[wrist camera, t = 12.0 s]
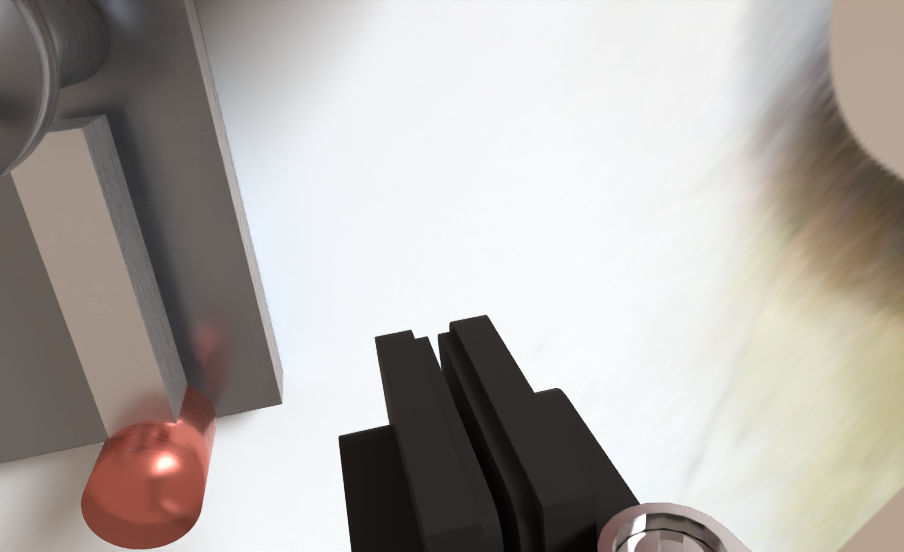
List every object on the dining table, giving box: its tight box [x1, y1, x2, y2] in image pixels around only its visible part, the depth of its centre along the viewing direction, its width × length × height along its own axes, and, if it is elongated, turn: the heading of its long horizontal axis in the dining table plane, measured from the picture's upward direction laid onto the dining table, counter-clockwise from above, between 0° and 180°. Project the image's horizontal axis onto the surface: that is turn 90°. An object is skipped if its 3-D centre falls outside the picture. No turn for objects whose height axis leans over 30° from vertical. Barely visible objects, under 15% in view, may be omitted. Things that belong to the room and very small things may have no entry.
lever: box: [10, 114, 217, 549], centre depth 16 cm, size 10×3×4 cm, turn 7°
